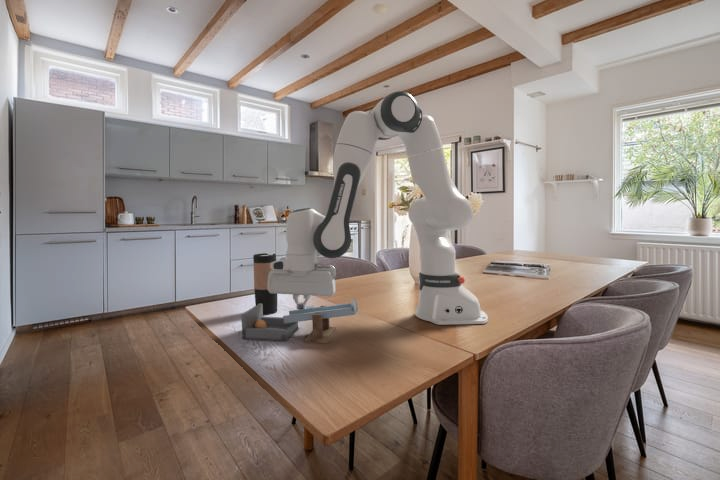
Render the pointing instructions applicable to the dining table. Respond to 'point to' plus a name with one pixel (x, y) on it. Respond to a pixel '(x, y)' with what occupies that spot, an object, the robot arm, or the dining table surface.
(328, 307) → the lever
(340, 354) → the dining table surface
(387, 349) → the dining table surface
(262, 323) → the ball
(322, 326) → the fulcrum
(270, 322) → the tray
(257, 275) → the travel mug
